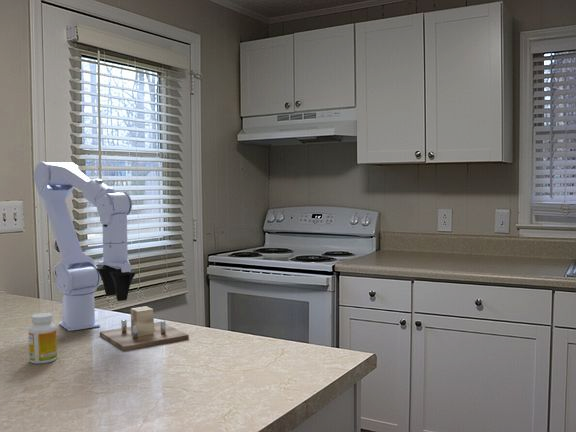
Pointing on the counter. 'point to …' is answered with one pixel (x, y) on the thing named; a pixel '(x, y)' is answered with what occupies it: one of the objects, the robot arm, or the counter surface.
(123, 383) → the counter surface
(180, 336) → the peg board
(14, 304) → the counter surface
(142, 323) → the block
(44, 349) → the supplement bottle
